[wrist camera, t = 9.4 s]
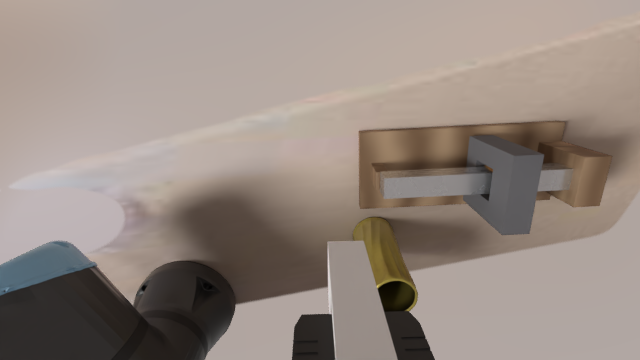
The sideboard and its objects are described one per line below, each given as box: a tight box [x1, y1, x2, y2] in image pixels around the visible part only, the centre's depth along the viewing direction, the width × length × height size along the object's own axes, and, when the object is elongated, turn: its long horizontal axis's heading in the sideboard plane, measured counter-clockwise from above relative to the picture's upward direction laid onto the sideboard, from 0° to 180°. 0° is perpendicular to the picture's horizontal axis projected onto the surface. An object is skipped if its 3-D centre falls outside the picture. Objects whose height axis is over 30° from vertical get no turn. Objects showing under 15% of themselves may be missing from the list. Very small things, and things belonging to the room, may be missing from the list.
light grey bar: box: [380, 163, 574, 199], centre depth 39 cm, size 22×3×3 cm, turn 93°
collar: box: [463, 135, 544, 235], centre depth 38 cm, size 3×9×10 cm, turn 3°
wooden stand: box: [359, 121, 612, 209], centre depth 41 cm, size 27×11×9 cm, turn 93°
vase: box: [353, 217, 418, 312], centre depth 42 cm, size 6×6×14 cm
